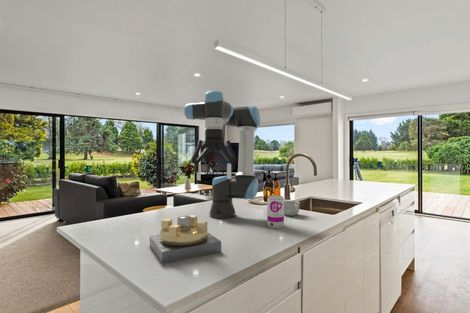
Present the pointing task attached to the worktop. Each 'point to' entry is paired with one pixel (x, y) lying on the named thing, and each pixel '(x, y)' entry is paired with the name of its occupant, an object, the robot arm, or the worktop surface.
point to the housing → (184, 249)
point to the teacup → (291, 208)
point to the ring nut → (183, 231)
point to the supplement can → (275, 211)
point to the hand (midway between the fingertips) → (214, 179)
